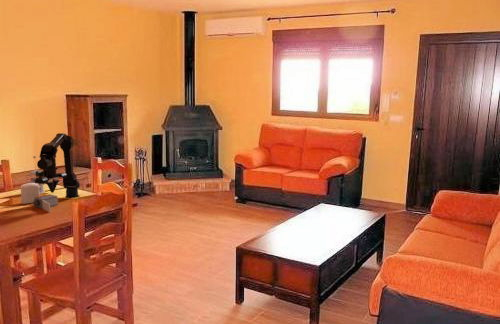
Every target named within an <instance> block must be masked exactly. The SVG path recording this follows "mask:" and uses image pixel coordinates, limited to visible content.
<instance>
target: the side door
mask: <svg viewBox="0 0 500 324" xmlns="http://www.w3.org/2000/svg"><path fill="white" fill-rule="evenodd" d="M42 207H43V209H42V210H44V211H47V212H49V213H50V212H51V207H50V204H49V203H47V202H46V201H44V200H42Z"/></svg>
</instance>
